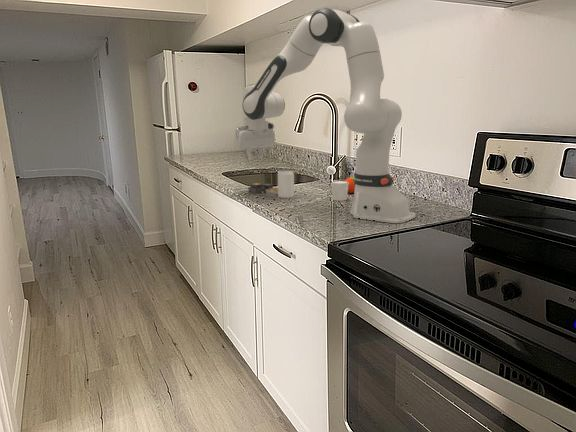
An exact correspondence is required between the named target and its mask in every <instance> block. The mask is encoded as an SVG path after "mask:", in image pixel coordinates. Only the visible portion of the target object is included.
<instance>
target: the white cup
mask: <svg viewBox="0 0 576 432" xmlns="http://www.w3.org/2000/svg"><path fill="white" fill-rule="evenodd" d="M348 184H349V182H346V181H345V180H335V181H331V192H332V193H331V195H332V201H337V202H344V200H345V201H347V200H348V194H349V193H348Z"/></svg>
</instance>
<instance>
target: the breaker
mask: <svg viewBox="0 0 576 432" xmlns="http://www.w3.org/2000/svg"><path fill="white" fill-rule="evenodd" d="M250 187H251V188H261V187H262V183H251V184H250Z"/></svg>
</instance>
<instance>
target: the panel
mask: <svg viewBox="0 0 576 432" xmlns="http://www.w3.org/2000/svg"><path fill="white" fill-rule="evenodd" d="M261 184H262V183H261ZM268 188H274V184H273V183H272V184H271V183H263V184H262V187H261V188H251V186H248V191H247V193H248V194H252V195H253V194H254V195H260V196H265V197H270V198H272V197H278V195H273V194H266V193H265V190H266V189H268Z"/></svg>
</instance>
